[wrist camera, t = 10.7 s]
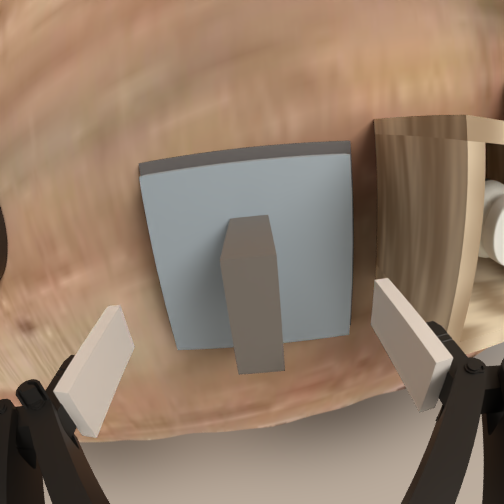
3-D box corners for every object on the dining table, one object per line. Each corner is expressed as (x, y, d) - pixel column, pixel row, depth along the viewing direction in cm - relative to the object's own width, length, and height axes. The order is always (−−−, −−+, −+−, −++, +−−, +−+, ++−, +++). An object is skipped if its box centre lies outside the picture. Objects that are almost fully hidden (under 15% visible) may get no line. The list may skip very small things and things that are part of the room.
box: (375, 276, 27) (438, 362, 15) (373, 119, 22) (466, 114, 11) (486, 260, 26) (561, 317, 15) (494, 128, 21) (589, 143, 10)
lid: (182, 334, 28) (158, 415, 19) (149, 172, 23) (88, 199, 13) (342, 319, 27) (376, 397, 18) (340, 152, 22) (397, 166, 13)
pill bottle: (464, 163, 23) (542, 184, 13) (466, 223, 25) (536, 263, 15) (414, 170, 23) (489, 194, 14) (418, 234, 25) (484, 283, 16)
